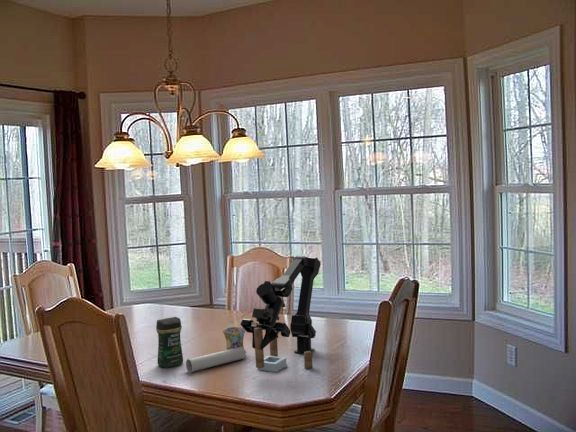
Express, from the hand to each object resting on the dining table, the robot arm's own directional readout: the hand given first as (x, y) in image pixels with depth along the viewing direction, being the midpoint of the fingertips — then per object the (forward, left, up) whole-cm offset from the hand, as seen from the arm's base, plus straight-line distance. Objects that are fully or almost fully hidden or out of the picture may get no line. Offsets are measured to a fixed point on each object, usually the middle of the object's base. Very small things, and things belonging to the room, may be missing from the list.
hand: (257, 348), depth 197 cm
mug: (-20, -25, -11) cm, 34 cm away
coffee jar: (0, -41, -11) cm, 43 cm away
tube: (-7, -23, -11) cm, 27 cm away
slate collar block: (-13, -2, -11) cm, 17 cm away
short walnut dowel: (-18, +11, -11) cm, 23 cm away
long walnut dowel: (-1, 0, -7) cm, 7 cm away
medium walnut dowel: (-21, -6, -11) cm, 24 cm away
